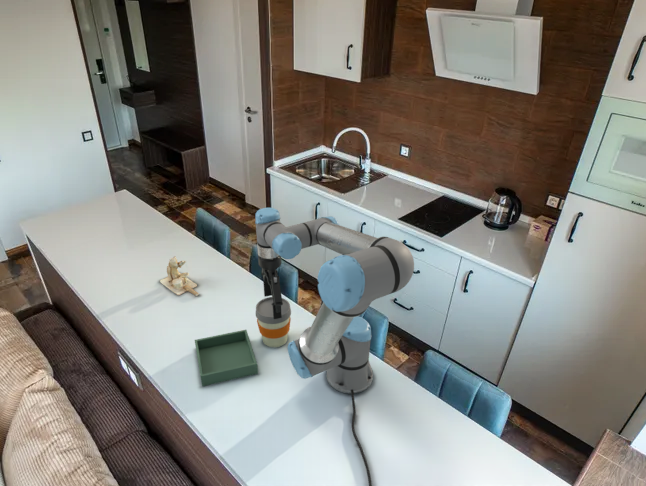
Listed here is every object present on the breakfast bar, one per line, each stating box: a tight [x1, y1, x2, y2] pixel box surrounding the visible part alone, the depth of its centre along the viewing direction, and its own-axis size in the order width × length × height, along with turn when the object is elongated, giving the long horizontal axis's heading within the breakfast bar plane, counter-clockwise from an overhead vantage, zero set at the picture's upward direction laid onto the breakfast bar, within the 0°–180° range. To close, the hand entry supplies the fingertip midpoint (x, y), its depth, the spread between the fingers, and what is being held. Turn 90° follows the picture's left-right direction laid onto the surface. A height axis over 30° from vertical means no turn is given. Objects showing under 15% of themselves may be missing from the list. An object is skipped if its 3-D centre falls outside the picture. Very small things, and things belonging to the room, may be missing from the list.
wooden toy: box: [159, 255, 200, 297], centre depth 192 cm, size 22×10×14 cm, turn 44°
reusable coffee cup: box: [255, 296, 292, 348], centre depth 162 cm, size 13×13×15 cm
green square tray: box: [194, 329, 259, 387], centre depth 156 cm, size 19×19×5 cm
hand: (272, 306), depth 158 cm, fingers open, 13 cm apart
